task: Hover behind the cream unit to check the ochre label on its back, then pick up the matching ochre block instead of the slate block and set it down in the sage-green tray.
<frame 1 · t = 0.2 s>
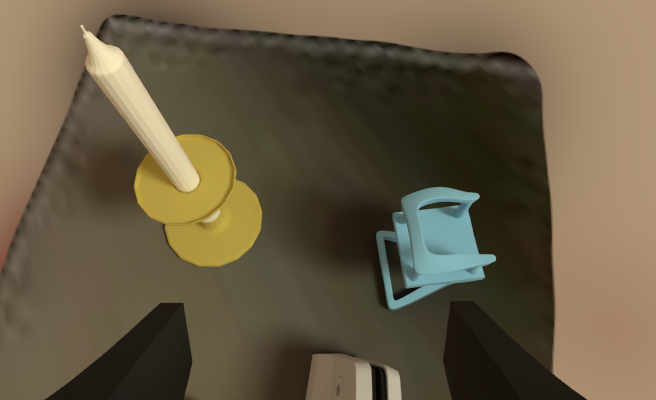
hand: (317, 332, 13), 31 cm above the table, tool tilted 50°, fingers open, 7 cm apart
chair: (422, 267, 46), on the table
candle: (214, 220, 48), on the table
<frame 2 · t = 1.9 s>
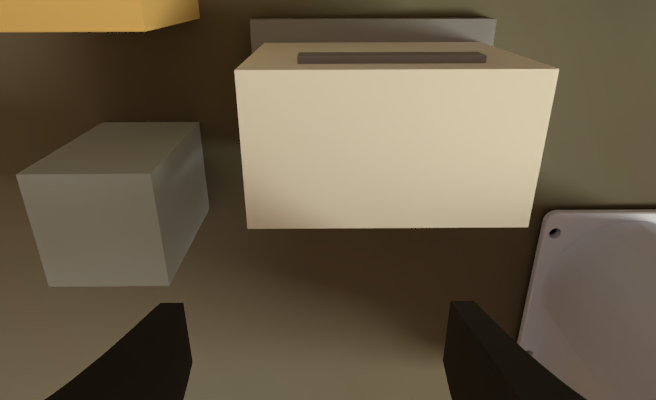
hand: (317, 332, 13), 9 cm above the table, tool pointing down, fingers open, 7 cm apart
slate block: (158, 167, 20), on the table
cream unit: (368, 97, 19), on the table
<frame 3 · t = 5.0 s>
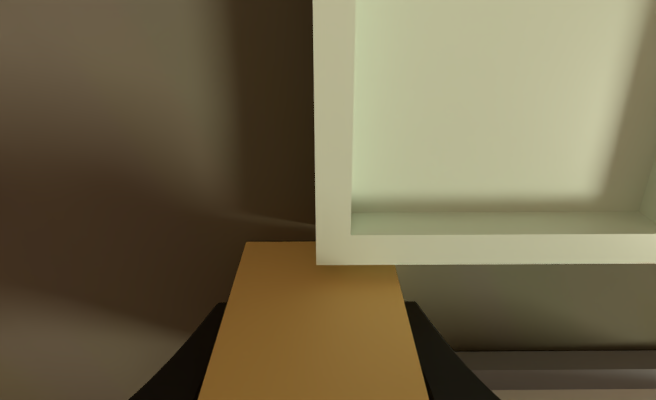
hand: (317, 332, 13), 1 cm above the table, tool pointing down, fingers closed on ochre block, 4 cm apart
ochre block: (318, 300, 14), on the table, touching gripper
sage tray: (505, 56, 11), on the table
when the fingers open (4 cm above the table, at t = 8.2 s): ochre block drops 1 cm, resting on sage tray.
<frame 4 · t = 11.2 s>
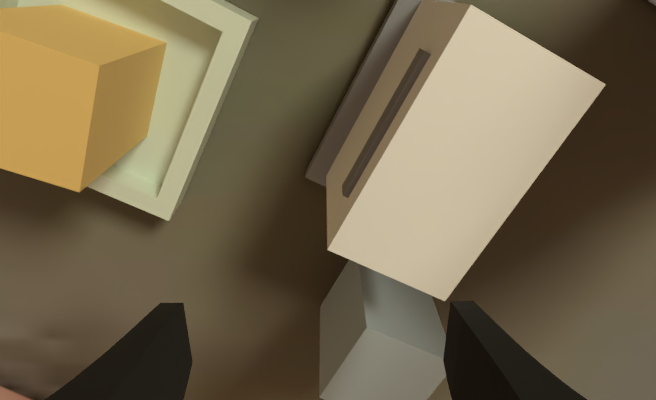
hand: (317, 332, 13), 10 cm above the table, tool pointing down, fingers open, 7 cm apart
ochre block: (106, 74, 19), point 1 cm above the table, touching sage tray
slate block: (372, 292, 24), on the table
cream unit: (413, 113, 20), on the table
sage tray: (115, 69, 19), on the table
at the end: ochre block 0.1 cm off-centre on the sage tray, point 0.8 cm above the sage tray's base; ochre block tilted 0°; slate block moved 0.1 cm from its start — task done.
